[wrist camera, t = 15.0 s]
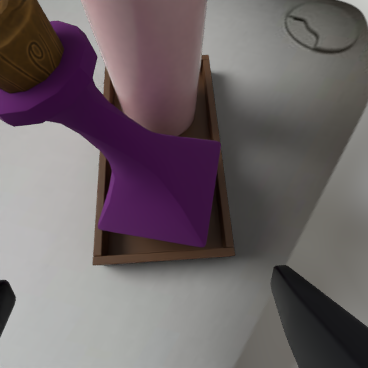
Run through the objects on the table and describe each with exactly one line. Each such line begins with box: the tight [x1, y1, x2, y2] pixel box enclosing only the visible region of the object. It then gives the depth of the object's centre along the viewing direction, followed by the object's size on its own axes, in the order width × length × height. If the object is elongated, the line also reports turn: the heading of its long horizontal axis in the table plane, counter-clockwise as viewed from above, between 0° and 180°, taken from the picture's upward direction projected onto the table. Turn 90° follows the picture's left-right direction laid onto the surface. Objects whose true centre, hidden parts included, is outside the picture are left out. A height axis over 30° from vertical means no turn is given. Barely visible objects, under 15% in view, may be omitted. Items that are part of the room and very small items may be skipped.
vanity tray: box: [93, 55, 235, 265], centre depth 20 cm, size 19×10×2 cm, turn 4°
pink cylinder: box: [81, 0, 207, 136], centre depth 14 cm, size 7×7×18 cm
